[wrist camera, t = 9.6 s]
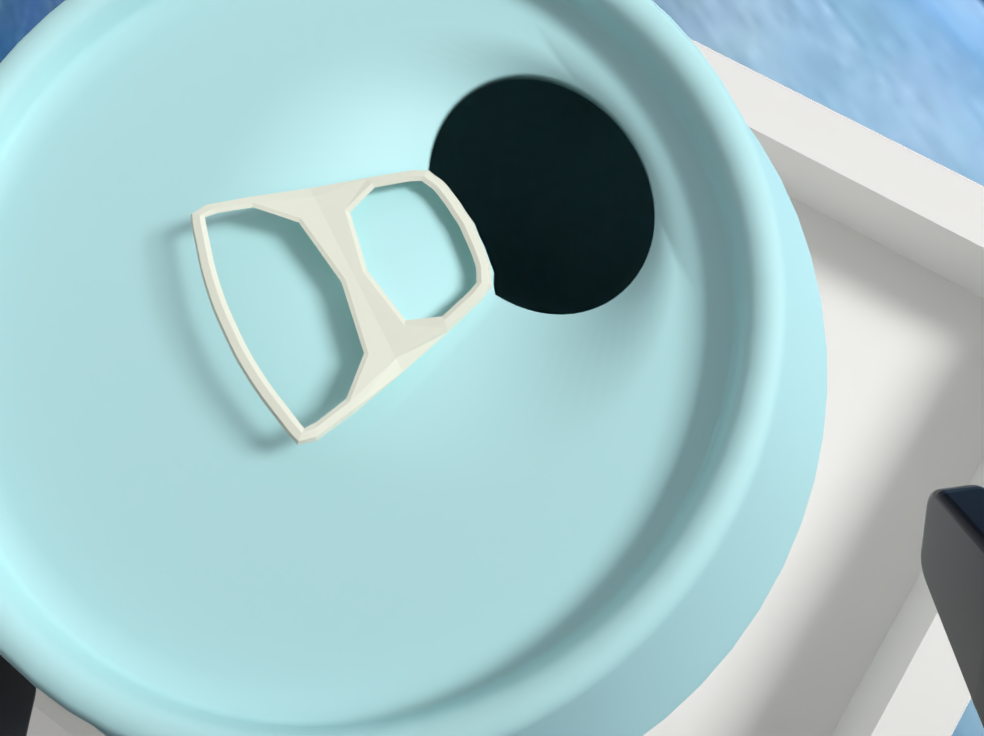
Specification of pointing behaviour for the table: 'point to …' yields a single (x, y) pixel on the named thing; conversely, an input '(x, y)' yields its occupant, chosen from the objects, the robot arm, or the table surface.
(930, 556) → the robot arm
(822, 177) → the tray
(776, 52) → the table surface
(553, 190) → the can
